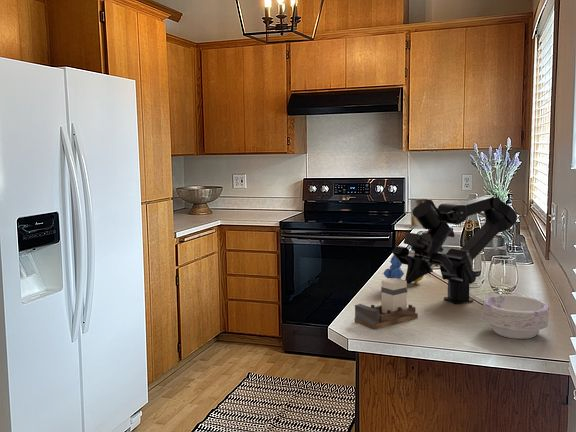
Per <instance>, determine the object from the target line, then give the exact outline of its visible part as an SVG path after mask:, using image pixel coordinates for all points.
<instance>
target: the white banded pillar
mask: <svg viewBox="0 0 576 432" xmlns="http://www.w3.org/2000/svg"><path fill="white" fill-rule="evenodd" d="M380 285H381V286H380V287H381V288H380V291H381V302H382V313H385V314H386V313H387V310H391V312H393V311H397V310H398V307H401V308H402V309H405V308H408V305H407V303H408V302H407V298H408V296H407V295H408V287H407V286H408V285H407V281H405V279H402V278H401V279H397V278H386V279H383V280H381V284H380Z"/></svg>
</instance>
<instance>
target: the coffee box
mask: <svg viewBox="0 0 576 432" xmlns="http://www.w3.org/2000/svg"><path fill="white" fill-rule="evenodd" d="M425 200H428V198H410V228H411V229H424V228H423V227H422V226H421V225H420V223H419V222H418V221H417V219H416V218H415V217H414V215H413V210H414V208H415V207H417V206H418V205H419V204H421V203H423V202H425Z"/></svg>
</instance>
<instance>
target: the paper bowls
mask: <svg viewBox="0 0 576 432" xmlns="http://www.w3.org/2000/svg"><path fill="white" fill-rule="evenodd" d="M482 308H483V311H482V316H483V317H482V319H483V321H484V322H485V323H487V324H488V325H490V326H491V329H492V330H493V332H494V333H495V334H497V335H498V336H501V337H504V338H509V339H516V340H517V339H518V340H527V339H531V338H533V337H536V336H537V335H538V334H539V332H540V331H541V330H544V329H546V328H547V327H548V326H549V321H550V319H549V318H550V307H549V304H547V303H546V302H544V301H542V300H540V299H537V298H535V297H529V296H523V295H515V294H497V295H491V296H488V297H486V298H485V299H484V300H483V307H482Z"/></svg>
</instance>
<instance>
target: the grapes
mask: <svg viewBox="0 0 576 432" xmlns="http://www.w3.org/2000/svg"><path fill="white" fill-rule="evenodd" d="M389 262H390V264H391V265H390V266H389V268H386V269H385V270H384V272H382V274H383V276H384V277H385V278H386V279H391V278H397V279H401V280H402V277H403V276H404V274H405V272H404V271H403V270H402V269H401V266H402V265H403V264H402V263H400V261H399V260H398V259H397V258H396V257H395V255H394V254H393V255H392V256H391V258H390V261H389Z"/></svg>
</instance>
